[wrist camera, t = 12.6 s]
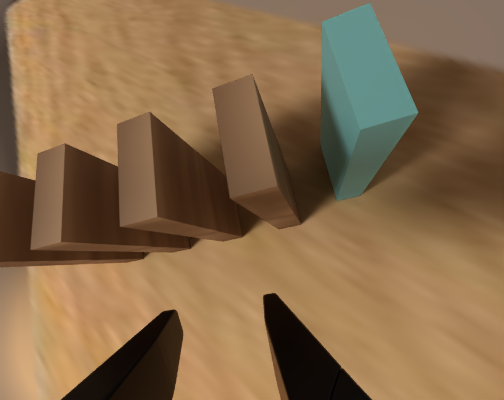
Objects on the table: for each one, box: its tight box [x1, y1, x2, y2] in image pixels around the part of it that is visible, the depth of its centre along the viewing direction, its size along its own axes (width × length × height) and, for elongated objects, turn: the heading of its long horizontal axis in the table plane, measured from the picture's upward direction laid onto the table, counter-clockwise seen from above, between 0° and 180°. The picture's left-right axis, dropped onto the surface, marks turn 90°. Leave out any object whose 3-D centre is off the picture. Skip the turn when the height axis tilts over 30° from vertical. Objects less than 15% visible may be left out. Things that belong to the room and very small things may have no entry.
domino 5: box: [321, 3, 418, 201], centre depth 12 cm, size 2×4×10 cm, turn 11°
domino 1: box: [0, 171, 143, 267], centre depth 16 cm, size 2×4×10 cm, turn 11°
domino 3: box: [117, 112, 243, 241], centre depth 14 cm, size 2×4×10 cm, turn 11°
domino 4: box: [212, 74, 301, 229], centre depth 13 cm, size 2×4×10 cm, turn 12°
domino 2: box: [30, 144, 190, 253], centre depth 15 cm, size 2×4×10 cm, turn 11°
